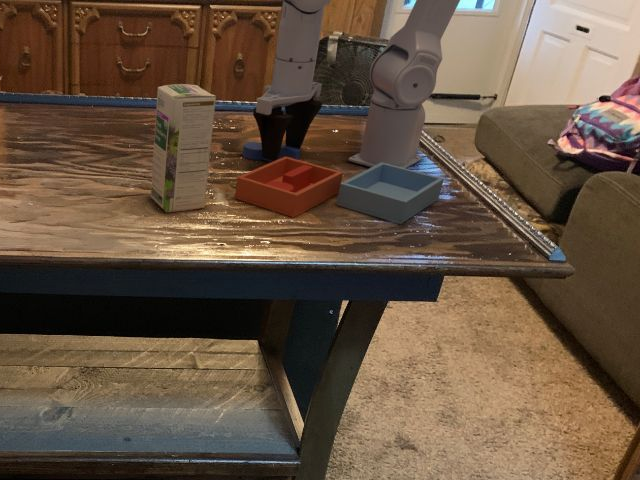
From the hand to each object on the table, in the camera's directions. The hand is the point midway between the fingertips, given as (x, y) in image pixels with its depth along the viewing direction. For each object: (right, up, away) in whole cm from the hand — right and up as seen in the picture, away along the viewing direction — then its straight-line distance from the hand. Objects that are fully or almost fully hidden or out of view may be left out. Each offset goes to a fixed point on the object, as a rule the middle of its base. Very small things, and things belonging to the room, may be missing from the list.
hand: (281, 154), depth 114 cm
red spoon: (-1, -8, -11) cm, 14 cm away
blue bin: (+12, -10, -11) cm, 19 cm away
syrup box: (-17, -11, -14) cm, 24 cm away
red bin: (-1, -9, -10) cm, 14 cm away
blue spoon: (-2, 0, +2) cm, 2 cm away
